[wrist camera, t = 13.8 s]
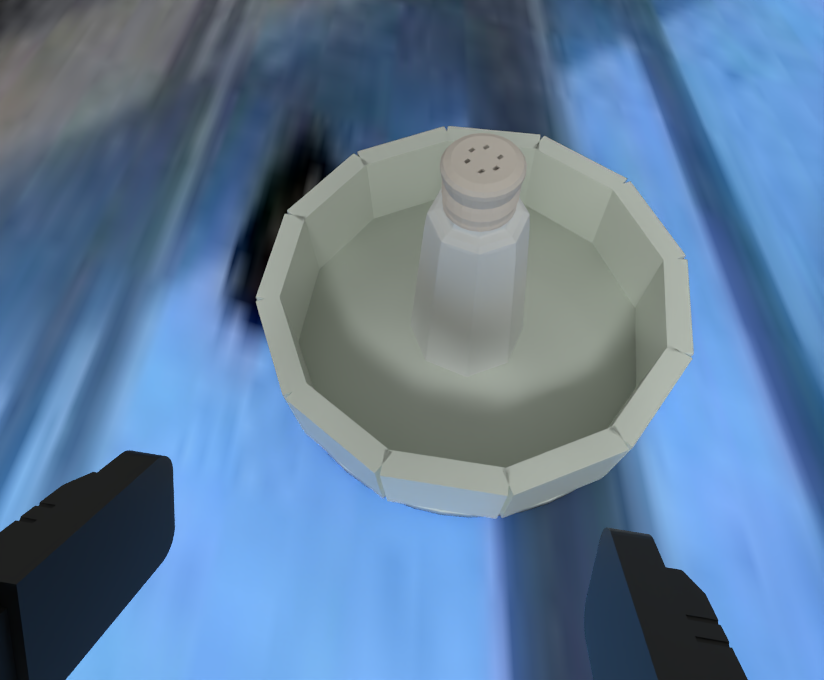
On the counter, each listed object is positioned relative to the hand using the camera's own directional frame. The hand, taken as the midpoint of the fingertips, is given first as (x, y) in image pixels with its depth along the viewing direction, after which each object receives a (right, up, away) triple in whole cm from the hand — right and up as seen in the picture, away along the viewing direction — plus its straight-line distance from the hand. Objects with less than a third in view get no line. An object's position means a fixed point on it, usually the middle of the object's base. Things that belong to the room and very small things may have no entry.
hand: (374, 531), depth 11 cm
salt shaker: (+3, +4, +18) cm, 19 cm away
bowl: (+3, +4, +19) cm, 19 cm away
